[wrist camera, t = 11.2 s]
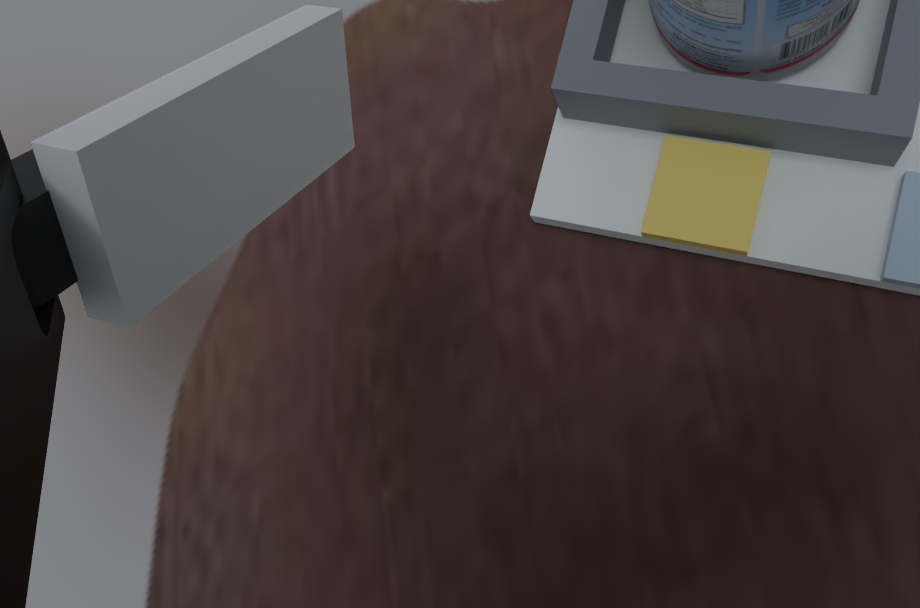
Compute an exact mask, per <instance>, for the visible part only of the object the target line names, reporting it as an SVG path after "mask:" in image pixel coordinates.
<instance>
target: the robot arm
mask: <svg viewBox="0 0 920 608" xmlns="http://www.w3.org/2000/svg"><path fill="white" fill-rule="evenodd" d="M31 146H32V150H30V151H28V152H26V153H24V154H22V155H20V156H18V157H16V158H14V159H12V160H11V159H10V157H9V154H8V151H7V148H6V145H5V142H4V140H3V137H2V134H1V131H0V608H25V605H26V597H27V591H28V590H27V589H28V582H29V576H30V569H31V561H32V554H33V547H34V540H35V533H36V525H37V518H38V510H39V503H40V496H41V489H42V482H43V474H44V467H45V460H46V453H47V445H48V438H49V430H50V424H51V417H52V409H53V402H54V395H55V387H56V380H57V373H58V366H59V358H60V351H61V344H62V337H63V329H64V322H65V315H64V312H63V308H62V305H61V302H60V299H59V296H58V294H60V293H61V292H62V291H64V290H65V289H67V288H68V287H70V286H71V285H73V284H74V283H75V282H77V284H78V287H79V290H80V293H81V296H82V299H83V302H84V305H85V308H86V311H87V315H88V316H89V317H92V318H95V319H99V320H102V321H106V322H110V323H113V324H116V325H120V326H123V327H127V328H130V327H131V326H133V325H134V324H135V323H136V322H137V321H139V320H140V319H141V318H142V317H144V316H145V315H146V314H147V313H149V312H150V311H151V310H152V309H154V308H155V307H156V306H157V305H158V304H160V303H161V302H162V301H163V300H165V299H166V298H167V297H169V296H170V295H171V294H172V293H173V292H175V291H176V290H177V289H179V288H180V287H181V286H182V285H184V284H185V283H186V282H187V281H189V280H190V279H191V278H192V277H194V276H195V275H196V274H197V273H199V272H200V271H201V270H202V269H203V268H205V267H206V266H207V265H209V264H210V263H211V262H212V261H213V260H215V259H216V258H217V257H218V256H220V255H221V254H222V253H223V252H224V251H226V250H227V249H228V248H230V247H231V246H232V245H233V244H235V243H236V242H237V241H238V240H240V239H241V238H242V237H243V236H245V235H246V234H247V233H248V232H250V231H251V230H252V229H253V228H255V227H256V226H257V225H258V224H260V223H261V222H262V221H263V220H265V219H266V218H267V217H268V216H270V215H271V214H272V213H273V212H275V211H276V210H277V209H278V208H280V207H281V206H282V205H283V204H285V203H286V202H287V201H288V200H290V199H291V198H292V197H293V196H295V195H296V194H297V193H298V192H299V191H301V190H302V189H303V188H304V187H306V186H307V185H308V184H309V183H311V182H312V181H313V180H314V179H316V178H317V177H318V176H319V175H321V174H322V173H323V172H324V171H326V170H327V169H328V168H329V167H331V166H332V165H333V164H334V163H336V162H337V161H338V160H339V159H341V158H342V157H343V156H344V155H346V154H347V153H348V152H349V151H351V150H352V149H353V148H354V147H355V145H354V135H353V124H352V113H351V102H350V92H349V81H348V70H347V59H346V49H345V38H344V27H343V16H342V9H340V8H331V7H322V6H313V5H304V6H302V7H300V8H298V9H296V10H294V11H292V12H290V13H288V14H286V15H285V16H283V17H281V18H278V19H276V20H274V21H272V22H270V23H268V24H266V25H264V26H262V27H260V28H258V29H256V30H254V31H252V32H250V33H248V34H246V35H244V36H243V37H240V38H238V39H236V40H234V41H232V42H230V43H228V44H226V45H224V46H222V47H220V48H219V49H216V50H214V51H212V52H210V53H208V54H206V55H204V56H202V57H200V58H198V59H196V60H194V61H192V62H190V63H188V64H186V65H184V66H182V67H180V68H178V69H176V70H174V71H172V72H170V73H168V74H166V75H164V76H162V77H160V78H158V79H156V80H154V81H152V82H150V83H148V84H146V85H144V86H142V87H140V88H138V89H136V90H134V91H132V92H130V93H128V94H126V95H124V96H122V97H120V98H118V99H116V100H114V101H112V102H110V103H108V104H106V105H104V106H102V107H100V108H98V109H96V110H94V111H92V112H90V113H88V114H86V115H84V116H82V117H80V118H78V119H76V120H74V121H72V122H70V123H68V124H66V125H64V126H62V127H60V128H58V129H56V130H54V131H52V132H50V133H48V134H46V135H44V136H42V137H40V138H38V139H36V140H34V141H32V142H31Z"/></svg>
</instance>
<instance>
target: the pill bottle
mask: <svg viewBox="0 0 920 608" xmlns="http://www.w3.org/2000/svg"><path fill="white" fill-rule="evenodd" d="M859 2H860V0H649V5H650V9H651V13H652V16H653V20H654V23H655V25H656V28H657V30H658V32H659V34H660V36H661V38H662V39H663V41H664V42H665V44H666V45H667V47H668V48H669V49H670V50H671V51H672V52H673V53H674V54H675V56H677V57H678V58H679V59H680V60H681V61H683V62H684V63H685V64H687V65H688V66H690V67H691V68H693V69H695V70H697V71H699V72H701V73H704V74H709V75H717V76H725V77H733V78H741V79H749V80H762V79H769V78H773V77H777V76H781V75H783V74H786V73H789V72H792V71H794V70H796V69H798V68H800V67H802V66H804V65H806V64H808V63H809V62H811V61H812V60H814V59H815V58H817V57H818V56H820V55H821V54H822V53H823V52H825V51H826V50H827V49H828V48H829V47H830V46H831V45H832V44H833V43H834V42H835V41H836V40H837V39H838V38H839V37H840V36H841V34H842V33H843V32H844V31H845V29H846V28H847V26H848V25H849V23H850V21H851V20H852V18H853V16H854V14H855V12H856V10H857V7H858V5H859Z"/></svg>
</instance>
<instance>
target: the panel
mask: <svg viewBox="0 0 920 608" xmlns="http://www.w3.org/2000/svg"><path fill="white" fill-rule="evenodd" d="M551 90H552V93H553V95H554V98H555V100H556V102H557V105H558V109H557V112H556V116H555V120H554V124H553V128H552V132H551V135H550V139H549V143H548V147H547V151H546V155H545V158H544V162H543V166H542V170H541V174H540V178H539V182H538V185H537V189H536V193H535V197H534V201H533V205H532V208H531V212H530V216H531V218H532V219H533V220H534V222H536V223H541V224H547V225H552V226H557V227H562V228H568V229H573V230H578V231H583V232H589V233H594V234H599V235H604V236H610V237H615V238H620V239H625V240H631V241H636V242H641V243H646V244H652V245H657V246H662V247H667V248H672V249H678V250H683V251H688V252H693V253H699V254H704V255H709V256H714V257H720V258H725V259H730V260H735V261H741V262H746V263H751V264H756V265H762V266H767V267H772V268H777V269H783V270H788V271H793V272H798V273H804V274H809V275H814V276H819V277H825V278H830V279H835V280H840V281H846V282H851V283H856V284H861V285H867V286H872V287H877V288H882V289H888V290H893V291H898V292H903V293H908V294H914V295H919V296H920V0H860V2H859V5H858V7H857V10H856V12H855V14H854V16H853V18H852V20H851V21H850V23H849V25H848V26H847V28H846V29H845V31H844V32H843V33H842V34H841V36H840V37H839V38H838V39H837V40H836V41H835V42H834V43H833V44H832V45H831V46H830V47H829V48H828V49H827V50H826V51H825V52H823V53H822V54H821V55H820V56H818V57H817V58H815V59H814V60H812V61H811V62H809V63H808V64H806V65H804V66H802V67H800V68H798V69H796V70H794V71H792V72H789V73H786V74H783V75H781V76H777V77H773V78H769V79H762V80H749V79H741V78H733V77H725V76H717V75H709V74H704V73H701V72H699V71H697V70H695V69H693V68H691V67H690V66H688V65H687V64H685V63H684V62H683V61H681V60H680V59H679V58H678V57H677V56H675V54H674V53H673V52H672V51H671V50H670V49H669V48H668V47H667V45H666V44H665V42H664V41H663V39H662V38H661V36H660V34H659V32H658V30H657V28H656V25H655V23H654V20H653V16H652V13H651V9H650V5H649V0H574V1H573V4H572V8H571V12H570V16H569V20H568V24H567V27H566V31H565V35H564V39H563V43H562V46H561V50H560V54H559V58H558V62H557V66H556V69H555V73H554V77H553V81H552V85H551Z"/></svg>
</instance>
